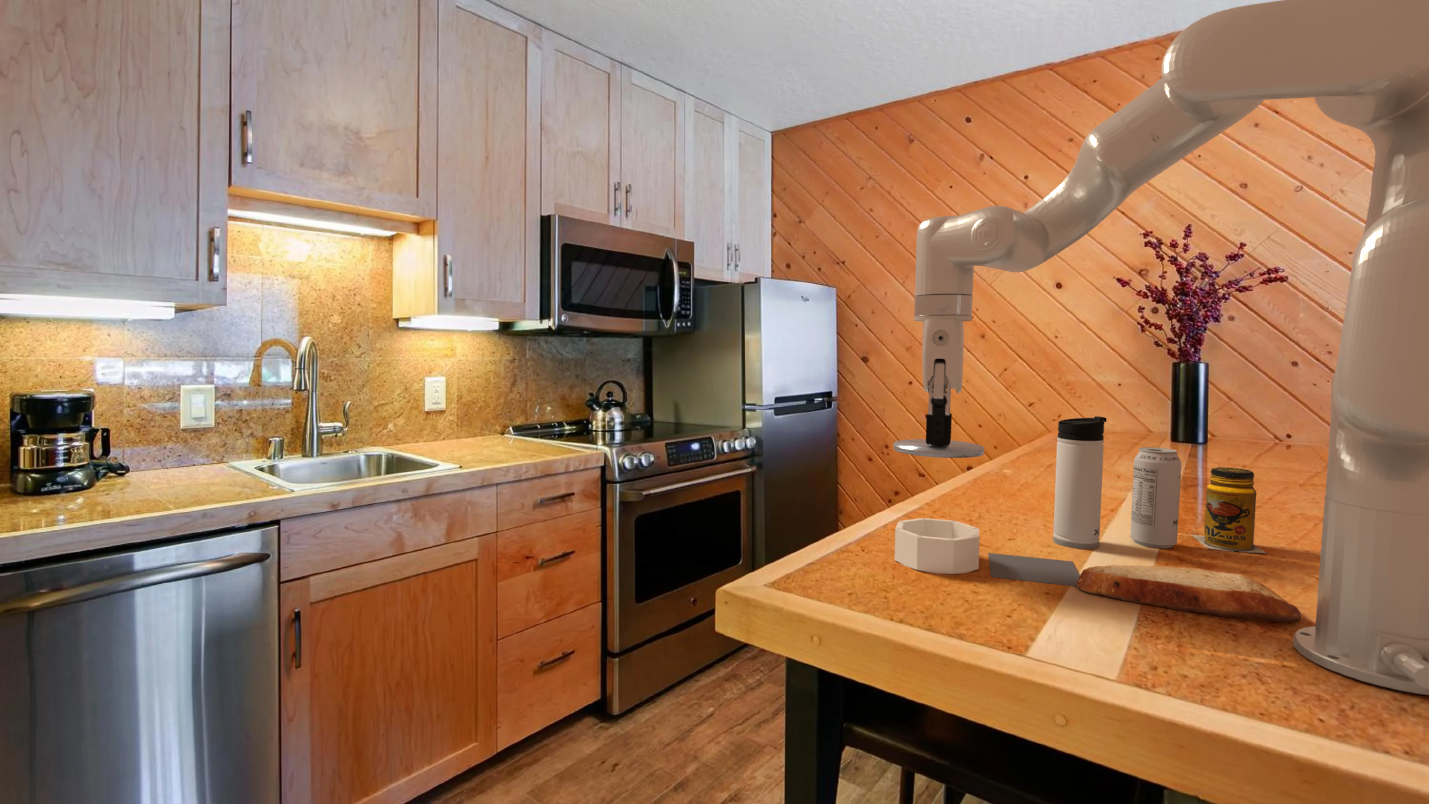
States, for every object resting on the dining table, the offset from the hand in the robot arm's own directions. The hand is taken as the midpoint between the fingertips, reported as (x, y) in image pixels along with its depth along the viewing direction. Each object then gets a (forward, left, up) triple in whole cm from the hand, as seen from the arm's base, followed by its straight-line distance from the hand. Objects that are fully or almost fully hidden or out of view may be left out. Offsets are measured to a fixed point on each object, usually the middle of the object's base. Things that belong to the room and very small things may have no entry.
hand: (938, 441), depth 92 cm
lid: (0, 0, -1) cm, 1 cm away
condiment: (+26, -42, -18) cm, 53 cm away
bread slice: (-5, -28, -17) cm, 34 cm away
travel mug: (+17, -20, -18) cm, 32 cm away
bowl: (0, 0, -17) cm, 17 cm away
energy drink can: (+21, -31, -18) cm, 41 cm away
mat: (+1, -13, -17) cm, 22 cm away
